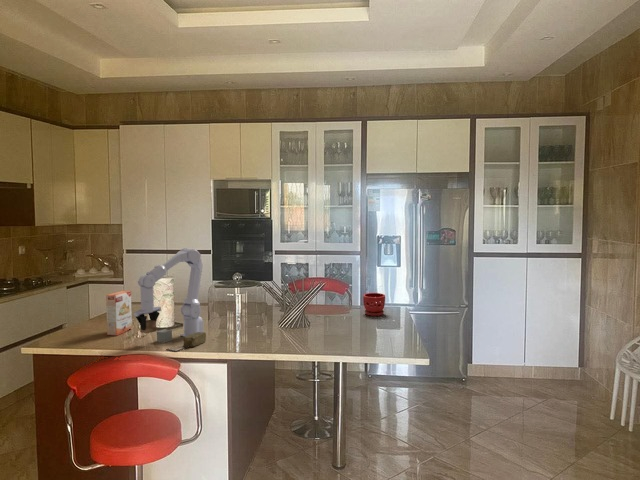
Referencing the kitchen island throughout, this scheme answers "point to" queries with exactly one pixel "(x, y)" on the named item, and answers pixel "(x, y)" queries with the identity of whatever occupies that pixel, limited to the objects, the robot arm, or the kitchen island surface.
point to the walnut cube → (149, 326)
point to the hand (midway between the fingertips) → (148, 328)
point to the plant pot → (374, 303)
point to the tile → (176, 348)
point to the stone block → (194, 339)
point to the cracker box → (118, 312)
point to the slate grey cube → (164, 335)
